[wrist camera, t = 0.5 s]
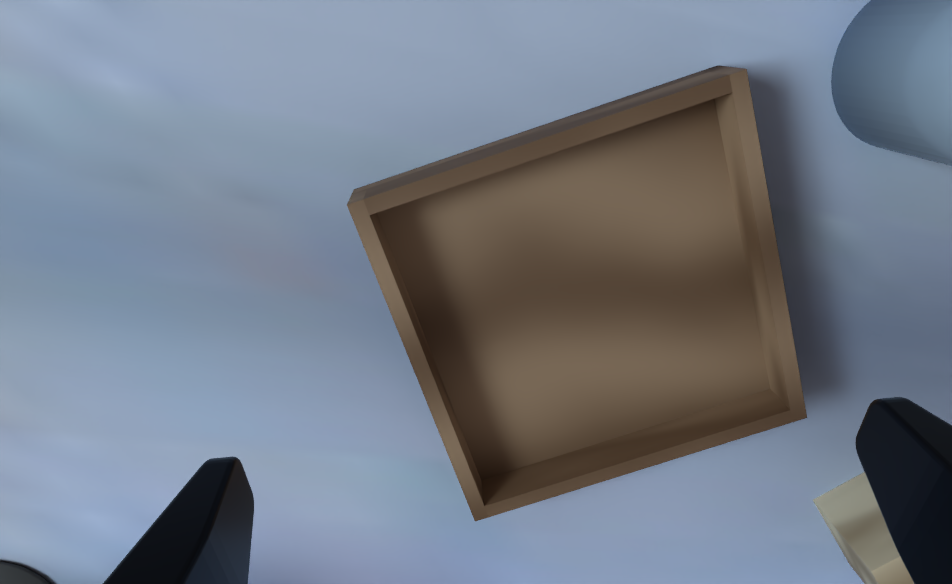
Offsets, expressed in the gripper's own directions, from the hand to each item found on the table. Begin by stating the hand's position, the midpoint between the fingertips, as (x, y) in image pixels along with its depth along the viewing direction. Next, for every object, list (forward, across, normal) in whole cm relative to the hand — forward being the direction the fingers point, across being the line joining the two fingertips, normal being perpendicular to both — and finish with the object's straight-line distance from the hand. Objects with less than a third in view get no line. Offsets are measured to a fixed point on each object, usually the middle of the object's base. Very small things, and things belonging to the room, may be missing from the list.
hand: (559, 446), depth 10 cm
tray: (+12, -3, +7) cm, 14 cm away
